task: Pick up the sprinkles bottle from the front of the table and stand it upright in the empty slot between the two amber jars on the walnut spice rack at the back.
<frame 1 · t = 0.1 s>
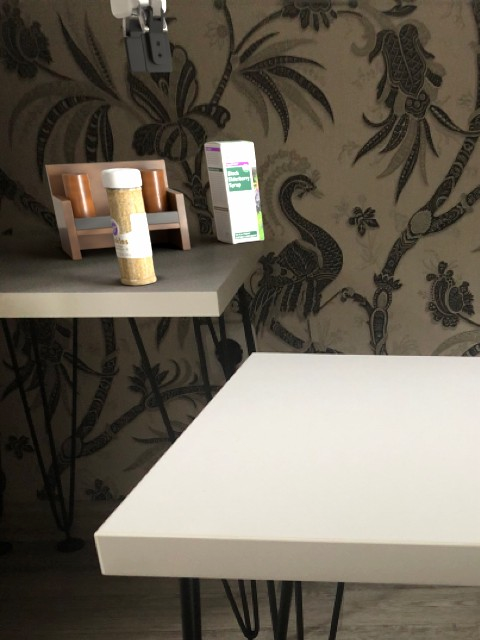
hand: (150, 72, 116), 24 cm above the table, tool pointing down, fingers open, 9 cm apart
syrup box: (240, 241, 149), on the table
sprinkles bottle: (139, 284, 119), on the table
spice rack: (127, 250, 141), on the table
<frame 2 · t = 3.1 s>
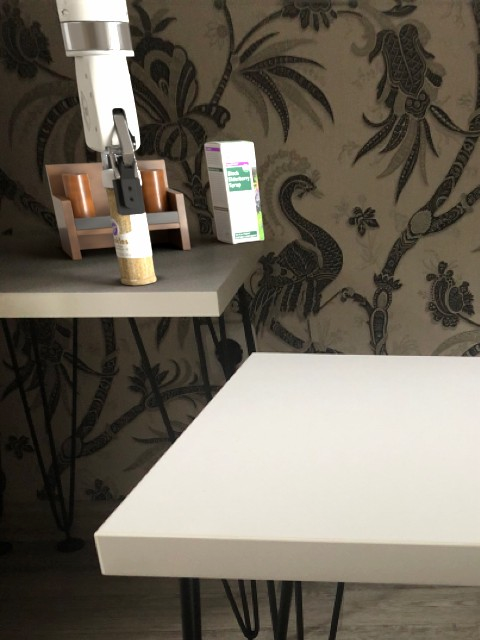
hand: (127, 210, 115), 9 cm above the table, tool pointing down, fingers closed on sprinkles bottle, 4 cm apart
sprinkles bottle: (139, 284, 119), on the table, touching gripper
everything else where it was.
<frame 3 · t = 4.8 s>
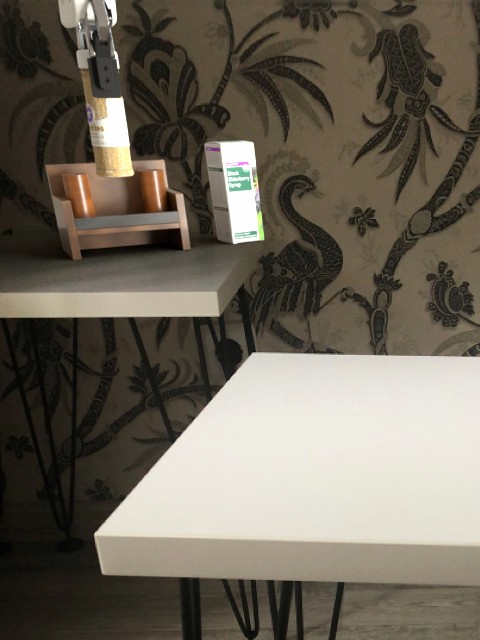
hand: (103, 95, 109), 21 cm above the table, tool pointing down, fingers closed on sprinkles bottle, 4 cm apart
sprinkles bottle: (116, 178, 113), point 12 cm above the table, touching gripper
everything else where it was.
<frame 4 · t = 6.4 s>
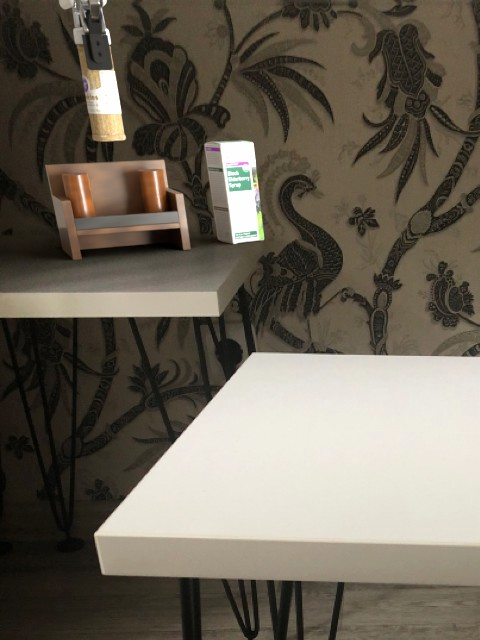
hand: (97, 68, 123), 24 cm above the table, tool pointing down, fingers closed on sprinkles bottle, 4 cm apart
sprinkles bottle: (110, 142, 128), point 15 cm above the table, touching gripper
everything else where it was.
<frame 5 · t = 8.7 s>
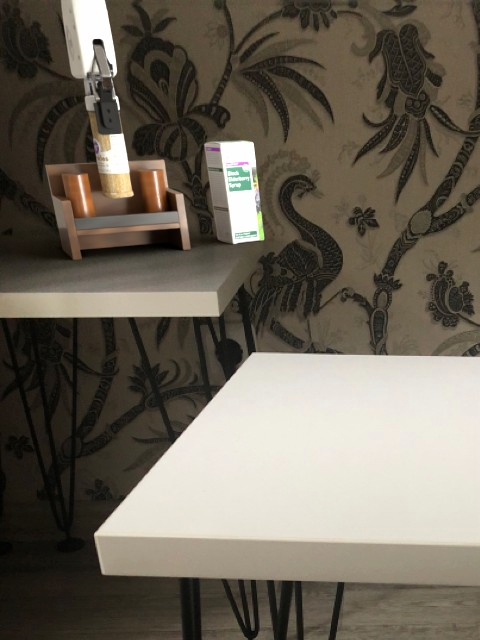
hand: (106, 131, 133), 16 cm above the table, tool pointing down, fingers closed on sprinkles bottle, 4 cm apart
sprinkles bottle: (119, 198, 138), point 7 cm above the table, touching gripper
everything else where it was.
when the fingers open (13 cm above the table, at t = 10.0 s): sprinkles bottle stays where it is, resting on spice rack.
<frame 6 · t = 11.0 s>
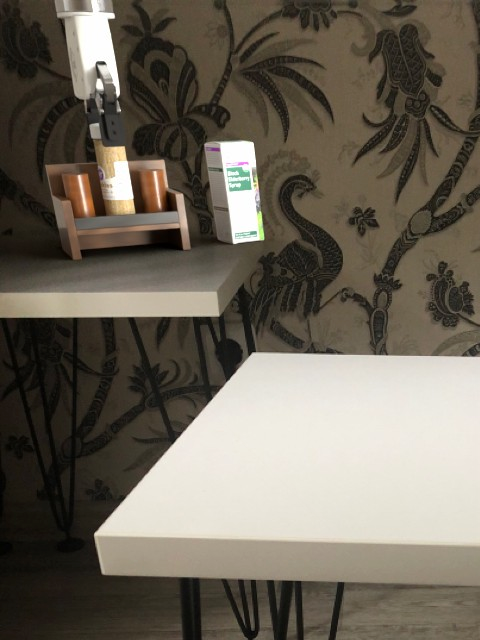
hand: (108, 144, 134), 15 cm above the table, tool pointing down, fingers open, 9 cm apart
sprinkles bottle: (122, 224, 139), point 4 cm above the table, touching spice rack
everything else where it was.
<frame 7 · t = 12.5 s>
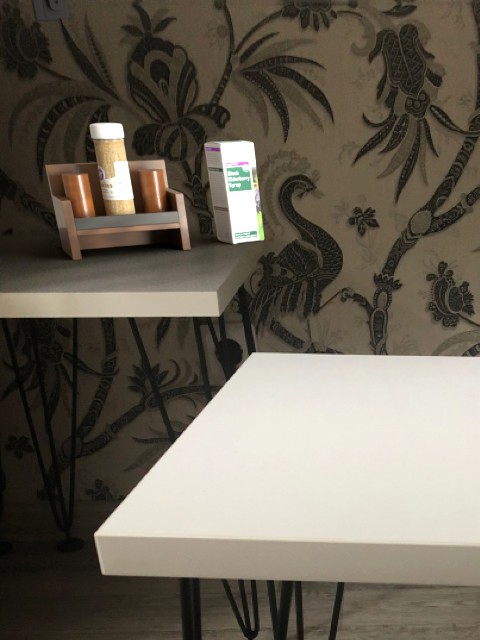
hand: (52, 19, 127), 30 cm above the table, tool pointing down, fingers open, 9 cm apart
nothing on the table moved.
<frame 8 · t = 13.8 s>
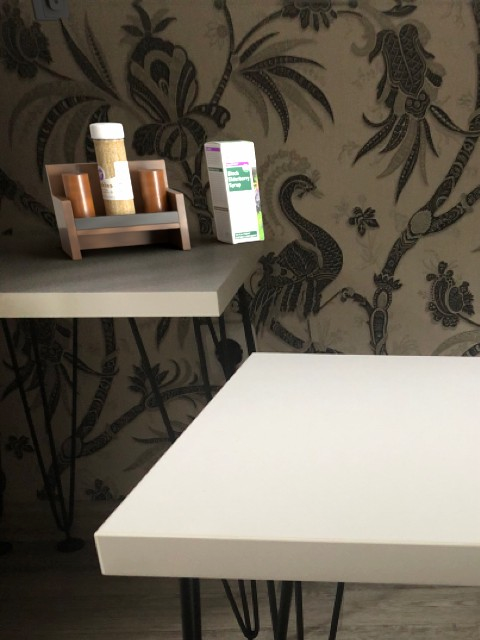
hand: (52, 19, 127), 30 cm above the table, tool pointing down, fingers open, 9 cm apart
nothing on the table moved.
at the end: sprinkles bottle inside the target area on the spice rack (0.0 cm from its centre), point 3.8 cm above the spice rack's base; sprinkles bottle tilted 0°; the gripper is holding nothing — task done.
